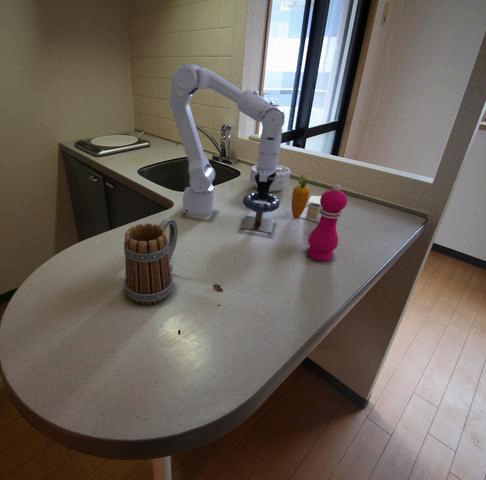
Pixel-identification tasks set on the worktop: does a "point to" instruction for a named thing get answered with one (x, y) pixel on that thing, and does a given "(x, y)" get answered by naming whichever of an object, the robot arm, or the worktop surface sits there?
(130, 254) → the mug
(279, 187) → the paper bowls
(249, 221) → the post
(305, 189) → the carrot
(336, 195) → the pepper mill
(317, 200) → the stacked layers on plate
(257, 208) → the ring
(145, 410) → the worktop surface
